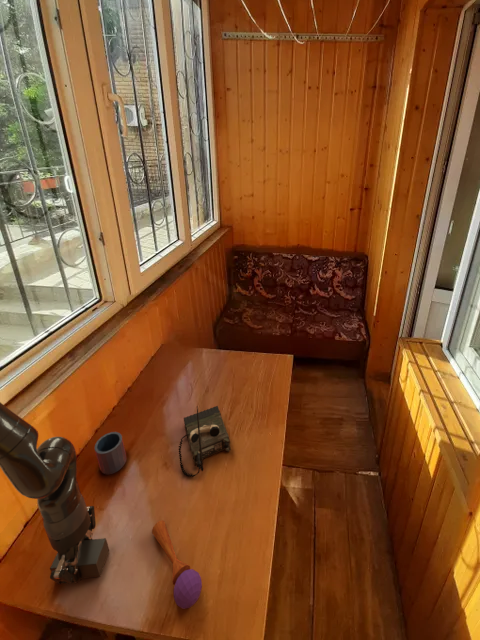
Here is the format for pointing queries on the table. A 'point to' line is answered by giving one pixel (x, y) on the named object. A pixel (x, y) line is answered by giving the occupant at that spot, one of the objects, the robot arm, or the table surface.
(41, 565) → the table surface
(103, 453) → the cup
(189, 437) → the radio
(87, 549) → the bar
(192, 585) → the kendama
